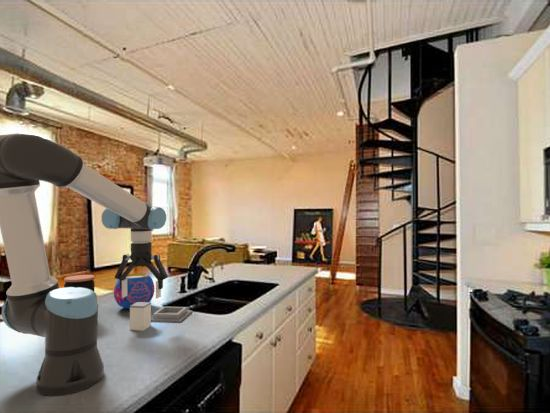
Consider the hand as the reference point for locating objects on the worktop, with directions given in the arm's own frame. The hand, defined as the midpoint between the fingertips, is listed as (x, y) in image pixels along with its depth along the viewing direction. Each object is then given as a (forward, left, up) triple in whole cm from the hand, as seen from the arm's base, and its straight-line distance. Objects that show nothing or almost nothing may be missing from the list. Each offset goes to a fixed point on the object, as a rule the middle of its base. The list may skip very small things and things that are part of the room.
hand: (141, 297), depth 127 cm
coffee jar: (+4, +28, -12) cm, 31 cm away
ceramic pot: (+25, +16, -12) cm, 32 cm away
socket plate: (+14, -6, -12) cm, 19 cm away
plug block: (0, 0, -12) cm, 12 cm away
